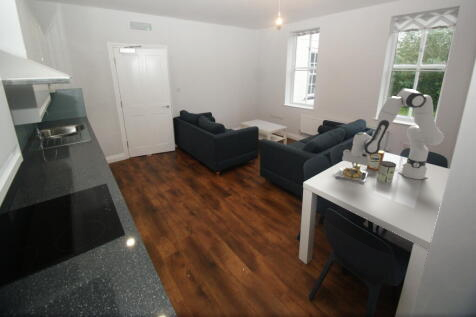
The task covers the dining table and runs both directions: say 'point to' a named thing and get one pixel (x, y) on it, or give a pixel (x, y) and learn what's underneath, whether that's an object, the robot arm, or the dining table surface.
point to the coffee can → (386, 171)
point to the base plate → (353, 179)
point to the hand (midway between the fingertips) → (354, 167)
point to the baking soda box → (376, 160)
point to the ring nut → (357, 174)
